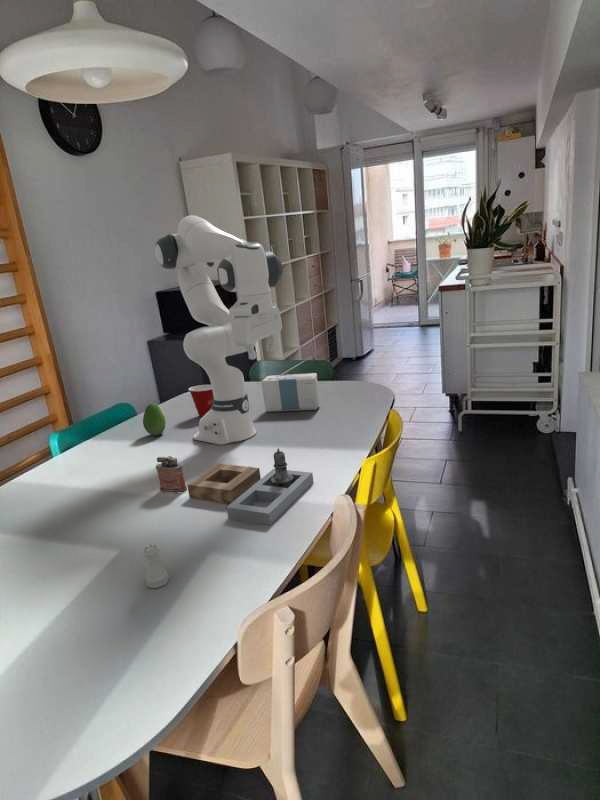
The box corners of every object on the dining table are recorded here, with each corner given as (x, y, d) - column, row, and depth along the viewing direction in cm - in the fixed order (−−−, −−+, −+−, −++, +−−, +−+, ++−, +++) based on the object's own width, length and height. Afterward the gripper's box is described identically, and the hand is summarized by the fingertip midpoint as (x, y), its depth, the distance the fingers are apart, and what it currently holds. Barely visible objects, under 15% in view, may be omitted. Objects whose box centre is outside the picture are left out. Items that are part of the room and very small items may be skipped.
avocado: (170, 430, 205) (164, 399, 201) (163, 437, 197) (157, 406, 194) (150, 431, 206) (144, 401, 202) (142, 439, 198) (135, 407, 195)
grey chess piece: (292, 495, 140) (286, 452, 137) (270, 496, 142) (264, 453, 138) (296, 485, 146) (291, 443, 143) (275, 485, 147) (269, 444, 144)
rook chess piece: (148, 577, 112) (141, 543, 110) (170, 574, 112) (163, 540, 110) (144, 591, 108) (136, 555, 105) (167, 587, 108) (159, 552, 106)
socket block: (189, 498, 146) (187, 484, 145) (219, 476, 158) (217, 463, 157) (232, 504, 139) (230, 490, 138) (261, 481, 151) (259, 468, 150)
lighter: (189, 488, 152) (183, 454, 150) (183, 493, 149) (176, 459, 147) (164, 486, 155) (158, 454, 152) (158, 492, 152) (151, 459, 149)
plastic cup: (226, 412, 219) (221, 383, 216) (208, 420, 211) (203, 391, 207) (206, 410, 225) (201, 382, 222) (187, 418, 217) (182, 389, 213)
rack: (228, 518, 133) (226, 507, 132) (274, 478, 152) (273, 468, 151) (270, 525, 127) (269, 513, 126) (313, 482, 146) (312, 472, 145)
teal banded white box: (265, 413, 211) (258, 363, 206) (270, 407, 219) (264, 358, 213) (317, 411, 206) (312, 360, 201) (321, 404, 214) (316, 355, 208)
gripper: (265, 299, 157) (271, 346, 162) (225, 311, 140) (232, 363, 144) (284, 298, 155) (289, 346, 159) (245, 310, 137) (252, 363, 141)
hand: (262, 354), depth 151 cm, fingers open, 8 cm apart
